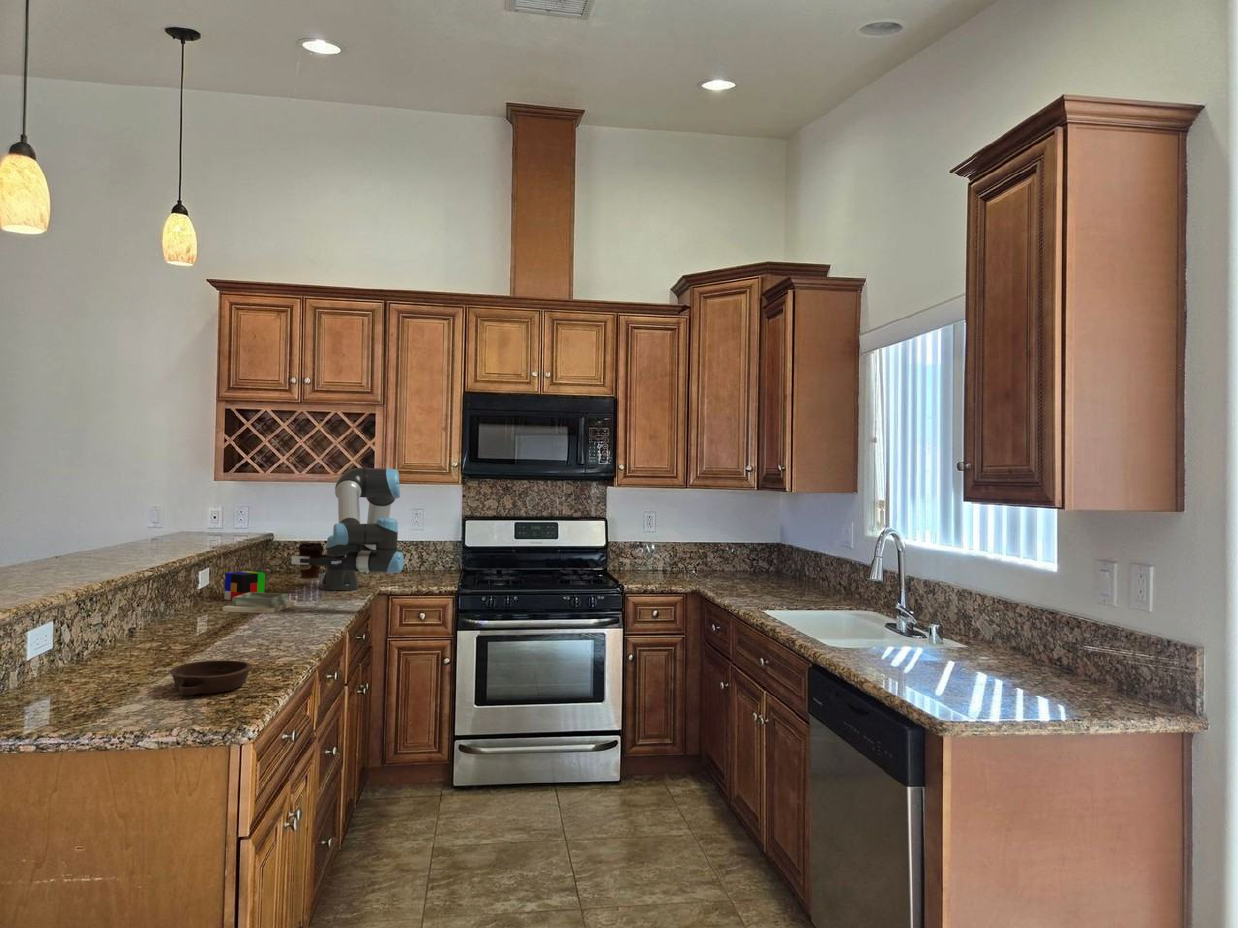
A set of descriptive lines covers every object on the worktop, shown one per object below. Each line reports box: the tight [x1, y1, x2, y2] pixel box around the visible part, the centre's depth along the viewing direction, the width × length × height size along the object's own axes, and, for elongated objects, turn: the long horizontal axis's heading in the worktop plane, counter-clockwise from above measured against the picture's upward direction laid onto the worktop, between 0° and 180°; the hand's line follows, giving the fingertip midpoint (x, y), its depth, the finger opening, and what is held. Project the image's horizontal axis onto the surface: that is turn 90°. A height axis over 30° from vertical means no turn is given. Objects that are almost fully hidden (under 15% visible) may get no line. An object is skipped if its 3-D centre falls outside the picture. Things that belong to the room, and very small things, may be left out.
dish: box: [169, 660, 253, 696], centre depth 206 cm, size 18×22×5 cm
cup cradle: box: [222, 592, 297, 614], centre depth 319 cm, size 20×18×4 cm
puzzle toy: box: [224, 570, 266, 601], centre depth 338 cm, size 10×10×10 cm
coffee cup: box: [297, 541, 325, 580], centre depth 317 cm, size 9×8×13 cm
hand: (296, 558), depth 317 cm, fingers closed on coffee cup, 7 cm apart
